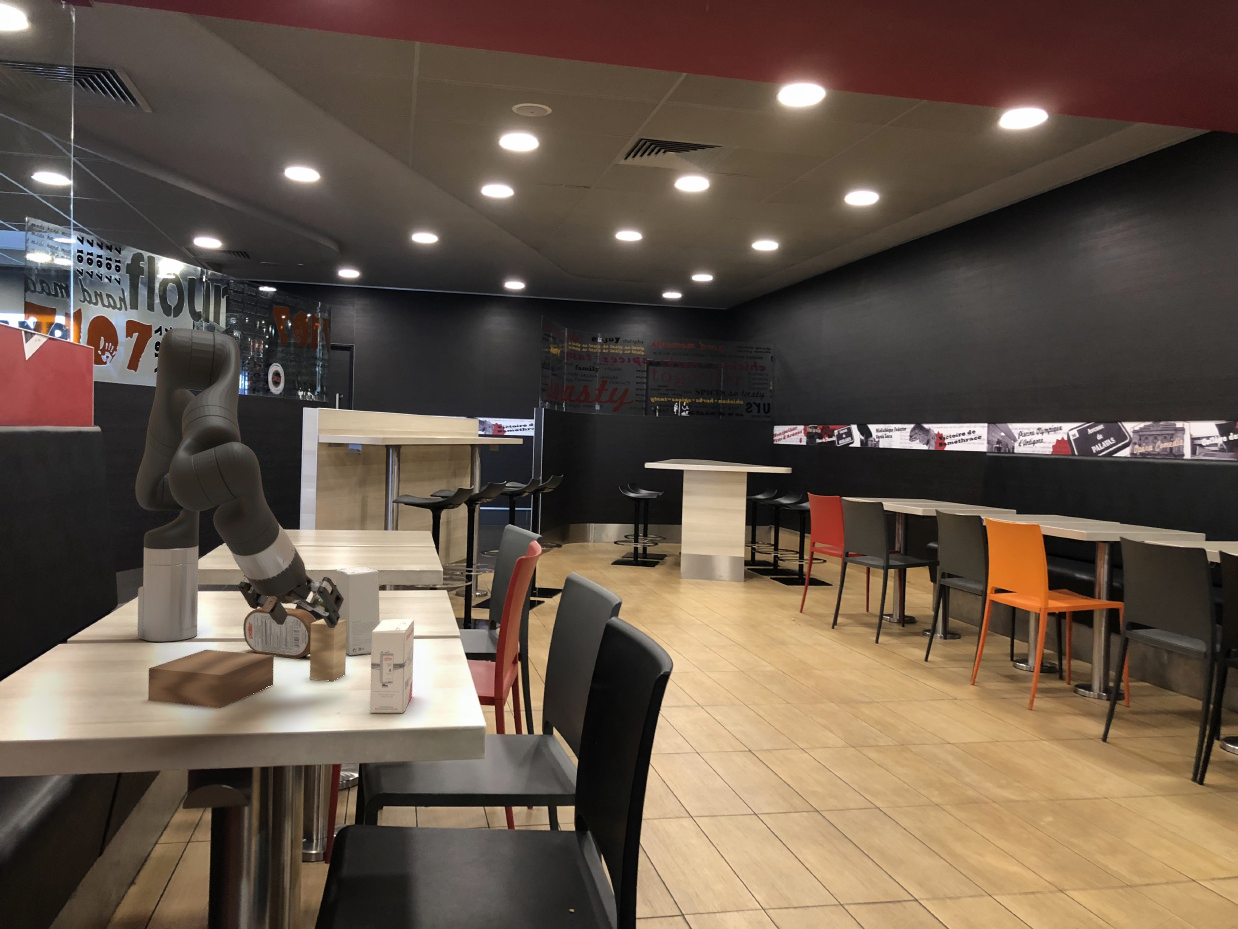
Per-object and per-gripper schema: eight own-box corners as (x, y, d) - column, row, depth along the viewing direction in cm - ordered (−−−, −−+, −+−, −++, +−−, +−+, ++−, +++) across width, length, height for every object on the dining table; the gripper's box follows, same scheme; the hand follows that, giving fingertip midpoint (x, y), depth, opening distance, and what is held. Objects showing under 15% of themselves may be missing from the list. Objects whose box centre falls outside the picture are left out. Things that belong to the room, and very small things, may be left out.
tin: (321, 658, 150) (322, 610, 149) (309, 662, 147) (310, 613, 146) (252, 649, 154) (253, 603, 154) (239, 653, 151) (240, 605, 151)
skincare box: (380, 653, 154) (382, 571, 153) (346, 657, 150) (348, 573, 150) (366, 643, 161) (368, 565, 160) (333, 647, 157) (335, 566, 157)
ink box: (380, 696, 128) (382, 617, 128) (413, 696, 128) (415, 617, 128) (368, 714, 119) (370, 630, 119) (404, 714, 120) (406, 630, 119)
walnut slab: (148, 702, 123) (148, 668, 123) (205, 681, 134) (206, 649, 134) (221, 710, 120) (221, 675, 120) (273, 687, 132) (273, 655, 132)
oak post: (309, 679, 136) (310, 623, 135) (322, 673, 139) (323, 618, 139) (333, 681, 135) (334, 625, 135) (345, 675, 139) (346, 620, 139)
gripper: (324, 538, 121) (360, 604, 132) (233, 533, 123) (276, 598, 135) (303, 581, 116) (342, 645, 127) (208, 575, 118) (256, 639, 130)
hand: (308, 621), depth 131 cm, fingers open, 8 cm apart
